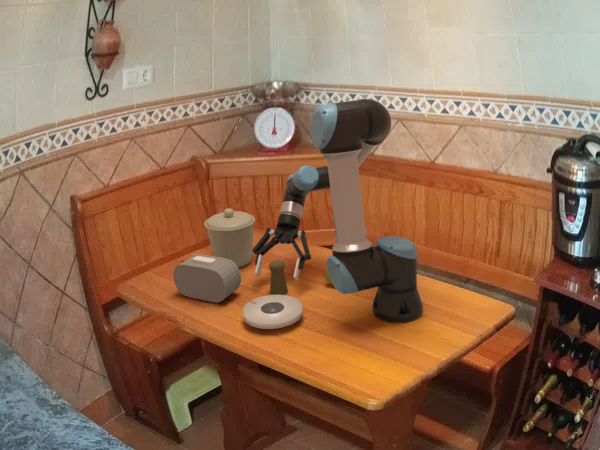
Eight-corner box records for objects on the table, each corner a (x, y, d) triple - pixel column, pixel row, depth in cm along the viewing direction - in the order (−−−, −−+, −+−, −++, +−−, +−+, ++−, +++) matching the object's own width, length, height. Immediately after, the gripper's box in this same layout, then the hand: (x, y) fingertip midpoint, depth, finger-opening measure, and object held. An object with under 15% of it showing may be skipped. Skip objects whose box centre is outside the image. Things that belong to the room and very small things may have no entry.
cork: (285, 296, 220) (283, 265, 216) (267, 295, 221) (265, 265, 217) (289, 288, 226) (287, 257, 222) (272, 287, 227) (269, 257, 223)
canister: (209, 255, 256) (203, 203, 248) (257, 251, 257) (252, 198, 250) (208, 275, 239) (202, 219, 231) (260, 270, 240) (255, 214, 233)
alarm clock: (243, 294, 224) (239, 257, 219) (227, 307, 216) (223, 268, 211) (193, 284, 233) (188, 248, 228) (176, 296, 225) (170, 259, 221)
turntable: (314, 308, 207) (313, 301, 206) (278, 334, 193) (278, 327, 193) (267, 295, 217) (267, 289, 216) (231, 319, 204) (230, 312, 203)
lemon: (338, 280, 229) (337, 258, 226) (344, 286, 224) (343, 264, 221) (322, 283, 228) (321, 261, 225) (328, 289, 223) (327, 267, 220)
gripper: (327, 224, 228) (315, 284, 220) (260, 219, 236) (245, 276, 229) (321, 215, 221) (308, 276, 214) (252, 210, 230) (237, 268, 222)
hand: (276, 276), depth 221 cm, fingers open, 13 cm apart
